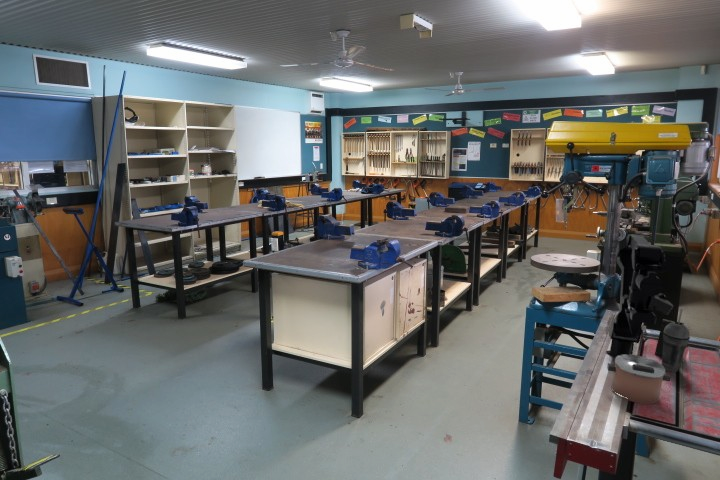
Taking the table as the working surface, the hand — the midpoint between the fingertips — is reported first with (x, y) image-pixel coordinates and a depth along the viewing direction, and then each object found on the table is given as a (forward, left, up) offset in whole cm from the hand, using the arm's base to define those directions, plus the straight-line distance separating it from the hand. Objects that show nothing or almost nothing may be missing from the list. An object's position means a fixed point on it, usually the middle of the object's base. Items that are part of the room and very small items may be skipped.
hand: (633, 334), depth 146 cm
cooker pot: (-7, -10, -13) cm, 18 cm away
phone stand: (+26, +9, -13) cm, 30 cm away
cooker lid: (-7, -10, -5) cm, 14 cm away
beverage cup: (+17, 0, -13) cm, 22 cm away
